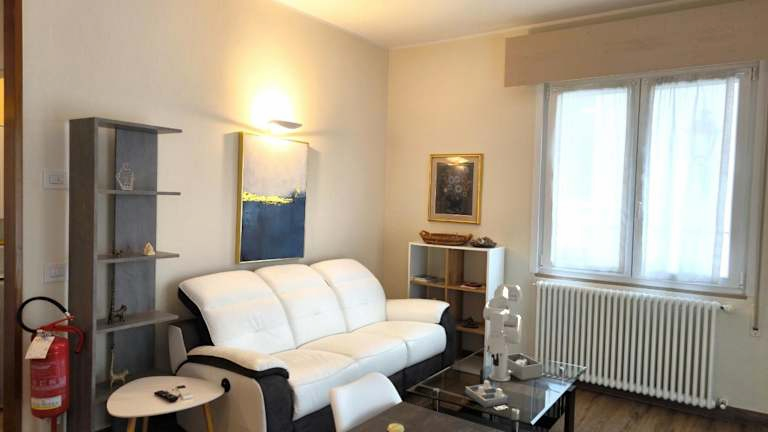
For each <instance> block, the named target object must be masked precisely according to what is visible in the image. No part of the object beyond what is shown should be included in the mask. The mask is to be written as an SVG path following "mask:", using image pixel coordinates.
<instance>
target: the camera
mask: <svg viewBox="0 0 768 432" xmlns="http://www.w3.org/2000/svg"><path fill="white" fill-rule="evenodd" d="M520 353H521V354H520V356H521V357H519V358H518V360H517V361H516V362H515V363H517V364H519V365H521V366H528V360H527V358H524V357H523V356H522V354H524V353H523V352H520Z"/></svg>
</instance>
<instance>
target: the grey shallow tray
mask: <svg viewBox="0 0 768 432" xmlns="http://www.w3.org/2000/svg"><path fill="white" fill-rule="evenodd" d="M478 386H484V383H482V384H474V385H470V386H465V387H464V393H466V394H465V395H467V396H468V397H470V398H471V399H473V400H474V401H475V402H476V403H478V404H479V405H481V406H482V407H484V408H490V407H496V406H501V405H505V404H509V402H510V401H509V400H510V399H509V398H510V396H509V395H507V394H506V393H504V392H502V394H503V395H504V396H502V397H497V398H494V394H496V387H495V386H493V385H492V384H490V387H492V388H488V389H484V393H486V394H483V395H478V394H477V393H476V392H478Z"/></svg>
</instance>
